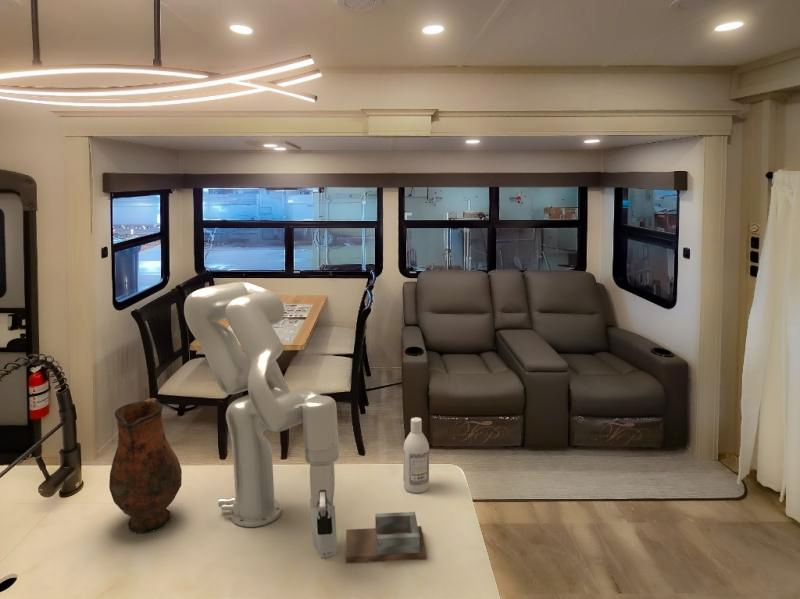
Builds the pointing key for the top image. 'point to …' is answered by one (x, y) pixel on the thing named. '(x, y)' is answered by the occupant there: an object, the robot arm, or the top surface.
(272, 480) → the robot arm
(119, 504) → the pitcher
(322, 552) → the skincare box
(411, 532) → the u rest
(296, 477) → the top surface
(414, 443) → the bath foam
